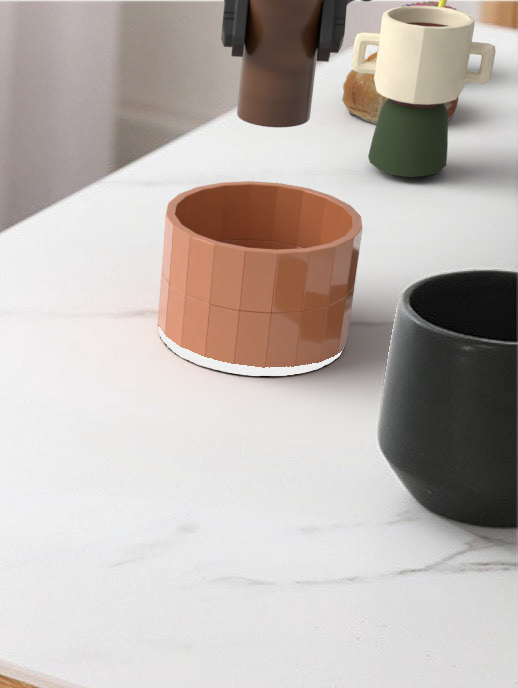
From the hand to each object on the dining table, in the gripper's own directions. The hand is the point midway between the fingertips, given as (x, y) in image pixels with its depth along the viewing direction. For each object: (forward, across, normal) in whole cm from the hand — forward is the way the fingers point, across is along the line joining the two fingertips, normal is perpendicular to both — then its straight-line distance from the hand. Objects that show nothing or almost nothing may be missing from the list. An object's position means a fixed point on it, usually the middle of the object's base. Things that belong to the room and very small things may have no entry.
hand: (281, 51), depth 93 cm
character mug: (-11, +12, +39) cm, 43 cm away
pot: (+12, 0, +15) cm, 20 cm away
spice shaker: (+2, 0, +5) cm, 5 cm away
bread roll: (-23, +12, +51) cm, 57 cm away
